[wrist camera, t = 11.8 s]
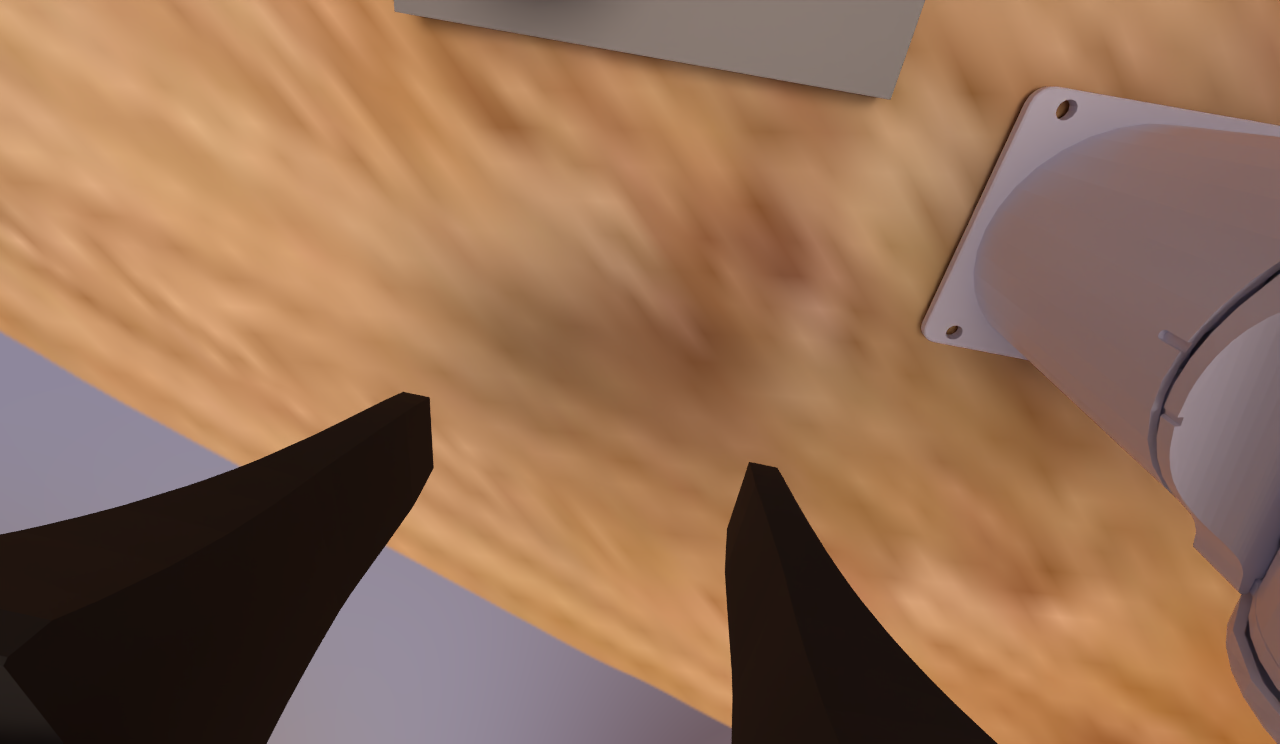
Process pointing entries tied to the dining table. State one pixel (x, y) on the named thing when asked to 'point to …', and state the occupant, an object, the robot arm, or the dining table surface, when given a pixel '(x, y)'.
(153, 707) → the robot arm
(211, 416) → the dining table surface
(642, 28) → the knob mounting plate
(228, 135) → the dining table surface
